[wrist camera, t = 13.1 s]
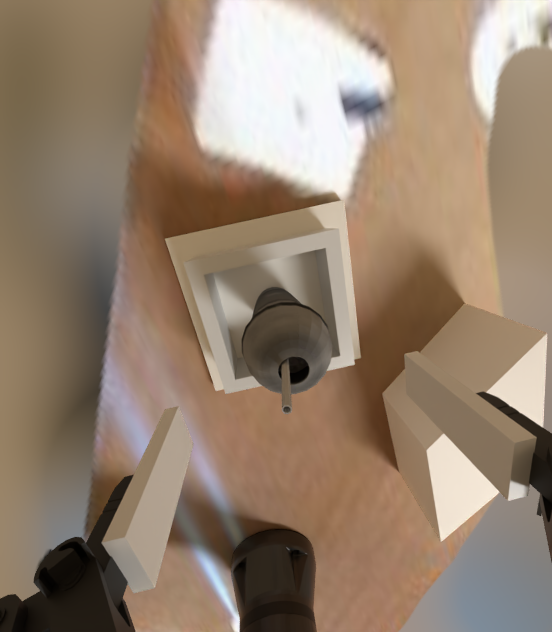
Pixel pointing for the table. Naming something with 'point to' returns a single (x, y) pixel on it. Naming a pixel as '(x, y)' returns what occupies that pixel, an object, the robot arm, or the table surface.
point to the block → (478, 375)
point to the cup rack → (266, 282)
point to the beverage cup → (286, 345)
